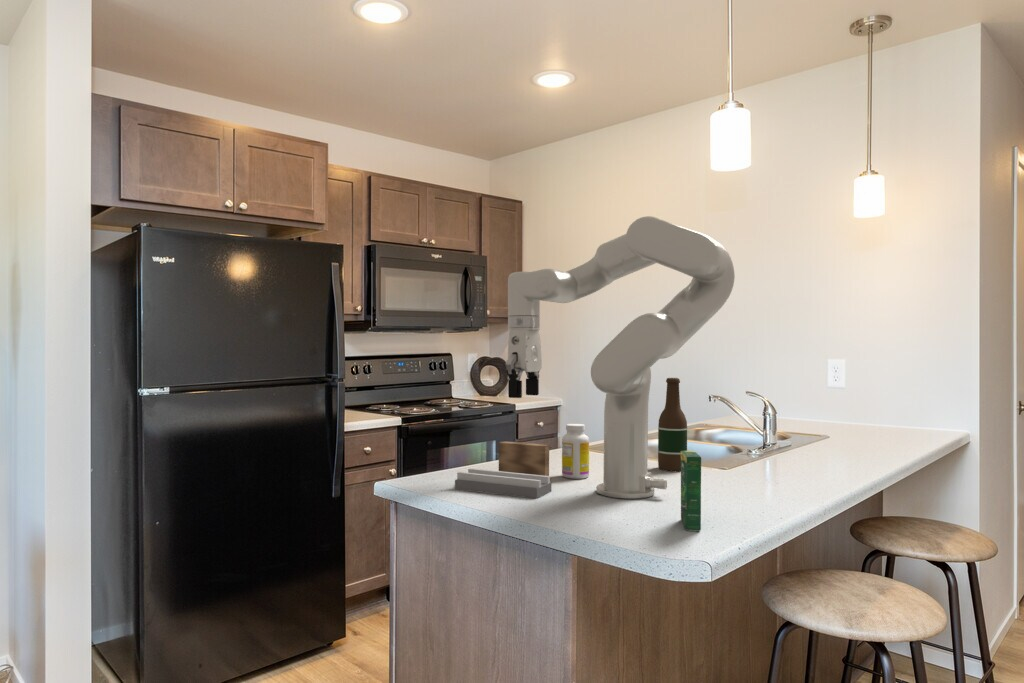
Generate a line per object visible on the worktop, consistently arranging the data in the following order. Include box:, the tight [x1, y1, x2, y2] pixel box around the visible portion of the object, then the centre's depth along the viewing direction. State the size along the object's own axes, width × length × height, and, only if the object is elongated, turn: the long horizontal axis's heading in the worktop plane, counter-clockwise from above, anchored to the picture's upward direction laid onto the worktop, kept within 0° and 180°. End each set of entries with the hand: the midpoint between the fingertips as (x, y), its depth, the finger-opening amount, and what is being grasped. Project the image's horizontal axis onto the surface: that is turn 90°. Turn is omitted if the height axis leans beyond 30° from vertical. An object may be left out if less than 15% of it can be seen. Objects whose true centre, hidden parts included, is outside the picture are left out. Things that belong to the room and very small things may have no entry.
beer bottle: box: [657, 377, 688, 473], centre depth 177 cm, size 8×8×24 cm
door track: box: [454, 467, 553, 499], centre depth 149 cm, size 20×8×4 cm, turn 64°
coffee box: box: [680, 450, 702, 532], centre depth 122 cm, size 8×3×13 cm, turn 172°
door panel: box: [498, 441, 550, 476], centre depth 159 cm, size 12×2×9 cm, turn 64°
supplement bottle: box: [561, 423, 590, 480], centre depth 165 cm, size 7×7×13 cm
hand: (523, 396), depth 159 cm, fingers open, 9 cm apart
